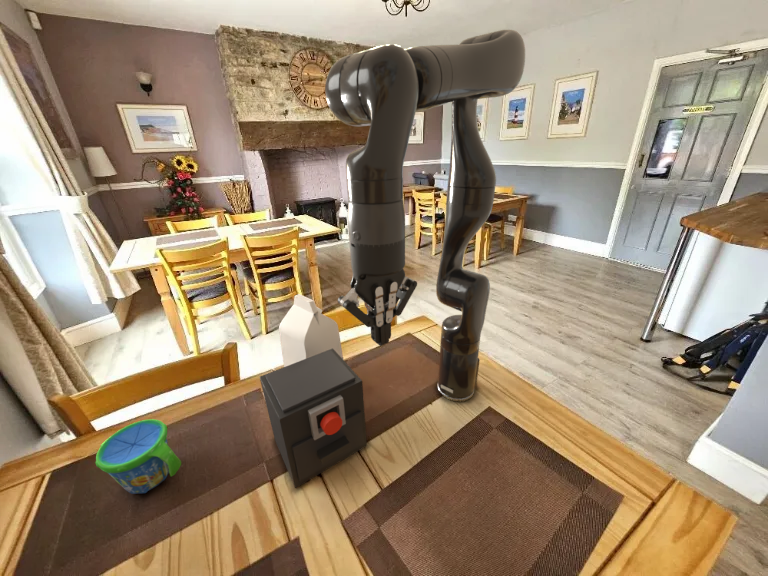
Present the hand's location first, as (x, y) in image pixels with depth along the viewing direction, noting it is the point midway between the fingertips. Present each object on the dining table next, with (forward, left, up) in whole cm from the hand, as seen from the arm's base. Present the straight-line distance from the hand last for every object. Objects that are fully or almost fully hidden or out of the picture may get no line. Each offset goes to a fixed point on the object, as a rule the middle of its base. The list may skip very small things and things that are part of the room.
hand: (381, 342), depth 49 cm
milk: (+1, -32, -31) cm, 45 cm away
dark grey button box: (+8, -12, -31) cm, 34 cm away
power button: (+8, -5, -19) cm, 21 cm away
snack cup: (+39, -26, -31) cm, 56 cm away
